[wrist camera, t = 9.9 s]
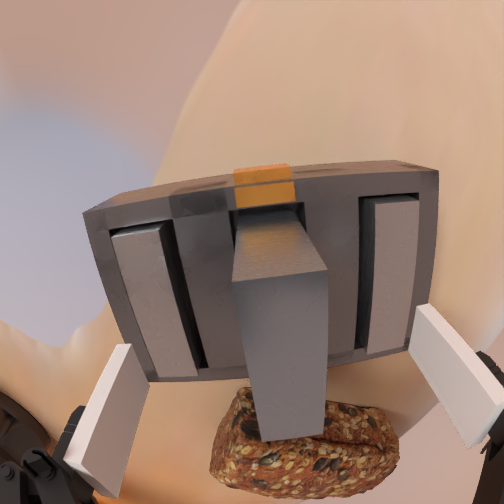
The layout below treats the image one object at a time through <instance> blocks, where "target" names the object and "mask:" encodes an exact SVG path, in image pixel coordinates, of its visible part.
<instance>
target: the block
mask: <svg viewBox="0 0 504 504" xmlns="http://www.w3.org/2000/svg"><path fill="white" fill-rule="evenodd" d="M232 286H233V292H234V298H235V303H236V309H237V315H238V320H239V326H240V331H241V337H242V342H243V347H244V353H245V358H246V363H247V369H248V374H249V379H250V384H251V389H252V395H253V400H254V405H255V410H256V415H257V420H258V424H259V429H260V434H261V439H262V442H265V441H275V440H284V439H292V438H299V437H306V436H313V435H319V434H323V428H324V415H325V400H326V382H327V357H328V269H327V267H326V266H325V264H324V262H323V260H322V259H321V257H320V255H319V254H318V252H317V250H316V248H315V247H314V245H313V243H312V242H311V240H310V238H309V237H308V235H307V233H306V232H305V230H304V228H303V227H302V225H301V223H300V222H299V220H298V218H297V217H296V215H295V214H294V212H293V210H292V209H291V207H290V205H289V204H280V205H271V206H263V207H255V208H247V209H239V215H238V225H237V234H236V244H235V254H234V264H233V274H232Z"/></svg>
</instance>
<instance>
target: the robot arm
mask: <svg viewBox="0 0 504 504" xmlns="http://www.w3.org/2000/svg"><path fill="white" fill-rule="evenodd" d="M408 353H409V354H410V356H411V357H412V359H413V360H414V362H415V363H416V365H417V366H418V368H419V369H420V371H421V372H422V374H423V376H424V377H425V379H426V380H427V382H428V383H429V385H430V387H431V388H432V390H433V391H434V393H435V395H436V396H437V398H438V400H439V401H440V403H441V404H442V406H443V408H444V409H445V411H446V413H447V414H448V416H449V418H450V420H451V421H452V423H453V425H454V426H455V428H456V430H457V432H458V433H459V435H460V437H461V439H462V440H463V442H464V444H465V446H466V448H467V449H470V448H471V447H473V446H475V445H477V444H479V443H481V442H482V441H483V439H484V438H485V437H486V435H487V434H489V436H490V440H489V441H488V442H487V444H486V445H485V446H484V448H483V449H482V451H481V454H483V452H484V451H485V450H486V449H487V451H486V455H485V460H484V464H483V468H482V472H481V476H480V480H479V484H478V487H477V490H476V494H475V497H474V500H473V503H472V504H504V373H503V372H501V369H500V368H499V367H498V366H496V363H495V362H494V361H493V360H492V359H491V358H490V356H488V355H486V354H485V353H483V352H481V351H479V352H476V353H475V352H474V351H473V350H472V349H471V348H470V347H469V346H468V344H467V343H466V342H465V341H464V340H463V339H462V338H461V336H460V335H459V334H458V333H457V332H456V331H455V330H454V329H453V328H452V327H451V325H450V324H449V323H448V322H447V321H446V320H445V319H444V318H443V317H442V316H441V315H440V314H439V313H438V312H437V310H436V309H435V308H434V307H433V306H432V305H431V304H430V303H428V304H424V305H420V306H416V312H415V318H414V324H413V329H412V334H411V339H410V344H409V348H408ZM149 387H150V385H149V383H148V381H147V378H146V376H145V374H144V372H143V370H142V367H141V365H140V363H139V361H138V358H137V356H136V354H135V351H134V349H133V346H132V344H117V345H116V347H115V349H114V351H113V353H112V355H111V357H110V359H109V361H108V363H107V365H106V367H105V369H104V371H103V373H102V375H101V377H100V379H99V381H98V383H97V385H96V387H95V389H94V391H93V393H92V395H91V397H90V399H89V402H88V404H87V406H79V407H78V408H77V409H76V410H75V411H74V412H73V413H72V414H71V416H70V418H69V420H68V422H67V425H66V427H65V429H64V432H63V433H62V435H61V437H60V440H59V442H58V444H57V446H56V448H55V451H54V453H53V455H52V457H51V456H50V455H49V454H48V453H47V452H46V451H47V448H48V446H49V444H50V439H49V436H48V435H47V433H46V432H45V430H44V429H43V428H42V426H41V425H40V424H39V423H38V422H37V421H36V420H35V419H34V418H33V417H32V416H31V415H30V414H29V413H28V412H27V411H25V410H24V409H23V408H22V407H21V406H19V405H18V404H17V403H16V402H14V401H13V400H11V399H10V398H9V397H7V396H6V395H4V394H2V393H0V504H98V502H97V500H96V498H95V497H94V496H93V495H92V494H93V491H94V489H95V490H96V491H97V492H98V493H99V494H101V495H103V496H108V497H112V498H117V499H118V497H119V493H120V489H121V485H122V481H123V477H124V473H125V470H126V466H127V462H128V458H129V455H130V451H131V447H132V444H133V440H134V437H135V433H136V430H137V426H138V423H139V420H140V416H141V413H142V410H143V406H144V403H145V400H146V397H147V393H148V390H149Z"/></svg>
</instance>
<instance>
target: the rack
mask: <svg viewBox="0 0 504 504" xmlns="http://www.w3.org/2000/svg"><path fill="white" fill-rule="evenodd" d="M438 195H439V171H438V170H434V169H430V168H426V167H422V166H418V165H414V164H409V163H405V162H400V161H396V160H391V161H365V162H347V163H332V164H318V165H306V166H295V167H290V166H288V165H287V164H278V165H269V166H260V167H252V168H244V169H236V170H234V172H233V174H227V175H220V176H213V177H207V178H200V179H194V180H188V181H182V182H176V183H171V184H165V185H160V186H154V187H149V188H144V189H139V190H134V191H129V192H124V193H120V194H118V195H116V196H114V197H112V198H110V199H108V200H106V201H104V202H102V203H100V204H99V205H97V206H95V207H93V208H91V209H89V210H88V211H85V212H84V213H83V218H84V222H85V225H86V229H87V233H88V237H89V240H90V244H91V248H92V251H93V254H94V258H95V261H96V265H97V268H98V271H99V274H100V277H101V280H102V283H103V286H104V289H105V292H106V295H107V298H108V301H109V303H110V306H111V309H112V312H113V314H114V317H115V319H116V322H117V325H118V327H119V330H120V332H121V335H122V337H123V339H124V342H125V344H132V346H133V349H134V351H135V354H136V356H137V358H138V361H139V363H140V365H141V367H142V370H143V372H144V374H145V376H146V378H147V381H148V382H190V381H212V380H228V379H241V378H249V374H248V369H247V363H246V358H245V353H244V347H243V342H242V337H241V331H240V326H239V320H238V315H237V309H236V303H235V298H234V292H233V286H232V274H233V264H234V254H235V244H236V234H237V225H238V215H239V209H247V208H255V207H263V206H271V205H280V204H289V205H290V207H291V209H292V210H293V212H294V214H295V215H296V217H297V218H298V220H299V222H300V223H301V225H302V227H303V228H304V230H305V232H306V233H307V235H308V237H309V238H310V240H311V242H312V243H313V245H314V247H315V248H316V250H317V252H318V254H319V255H320V257H321V259H322V260H323V262H324V264H325V266H326V267H327V269H328V357H327V367H333V366H338V365H344V364H349V363H354V362H359V361H364V360H368V359H373V358H377V357H382V356H386V355H390V354H394V353H398V352H402V351H406V350H408V348H409V344H410V339H411V334H412V329H413V324H414V318H415V312H416V306H420V305H424V304H428V298H429V292H430V286H431V279H432V272H433V264H434V255H435V246H436V234H437V220H438Z"/></svg>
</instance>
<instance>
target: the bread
mask: <svg viewBox="0 0 504 504" xmlns="http://www.w3.org/2000/svg"><path fill="white" fill-rule="evenodd" d="M399 459H400V456H399V440H398V437H397V436H396V435H395V433H394V431H393V427H391V426H390V421H389V420H387V419H386V418H385V415H384V414H383V413H382V412H381V411H380V410H378V409H376V408H374V407H371V408H369V409H364V408H360V407H357V406H356V407H355V406H353V405H349V404H341V403H335V402H329V401H325V415H324V428H323V434H319V435H313V436H306V437H299V438H292V439H284V440H275V441H265V442H262V439H261V434H260V429H259V424H258V420H257V415H256V410H255V405H254V400H253V395H252V389H251V388H241V389H240V390H239V391H238V392H237V396H236V397H235V398H234V399H233V401H232V404H231V406H230V409H229V411H228V412H227V413H226V416H225V417H224V418H223V419H222V421H221V423H220V425H219V427H218V430H217V433H216V437H215V440H214V443H213V449H212V457H211V462H210V470H209V471H210V474H211V475H212V476H214V477H215V478H216V479H217V480H218V481H219V482H220V483H224V484H225V485H226V486H227V487H230V488H234V489H241V490H245V491H248V492H251V493H255V494H259V495H263V496H267V497H271V498H277V499H279V498H285V499H302V500H305V499H323V498H325V497H327V496H330V497H342V498H345V497H350V496H352V495H355V494H358V493H364V492H366V491H367V490H371V489H373V488H374V487H375V486H377V485H378V484H380V483H381V482H382V481H383V480H384V479H385V478H386V477H387V476H388V475H390V474H391V473H392V472H393V471H394V469H395V468H396V466H397V465H396V463H397V462H398V460H399Z"/></svg>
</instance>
